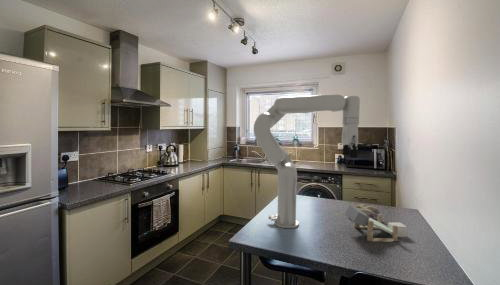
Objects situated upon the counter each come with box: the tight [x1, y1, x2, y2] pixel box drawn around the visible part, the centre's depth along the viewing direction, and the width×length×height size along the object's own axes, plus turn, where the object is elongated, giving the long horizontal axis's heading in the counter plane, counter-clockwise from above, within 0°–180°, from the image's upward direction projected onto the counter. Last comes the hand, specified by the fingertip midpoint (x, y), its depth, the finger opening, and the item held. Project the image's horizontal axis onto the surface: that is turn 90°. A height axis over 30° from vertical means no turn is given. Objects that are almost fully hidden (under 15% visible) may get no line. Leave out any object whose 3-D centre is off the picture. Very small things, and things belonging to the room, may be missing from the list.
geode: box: [346, 203, 380, 219], centre depth 141 cm, size 17×9×15 cm
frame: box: [354, 214, 399, 243], centre depth 119 cm, size 13×15×9 cm
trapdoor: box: [345, 204, 393, 235], centre depth 119 cm, size 20×12×5 cm, turn 91°
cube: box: [387, 221, 408, 238], centre depth 119 cm, size 5×5×6 cm
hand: (349, 156), depth 124 cm, fingers open, 9 cm apart
